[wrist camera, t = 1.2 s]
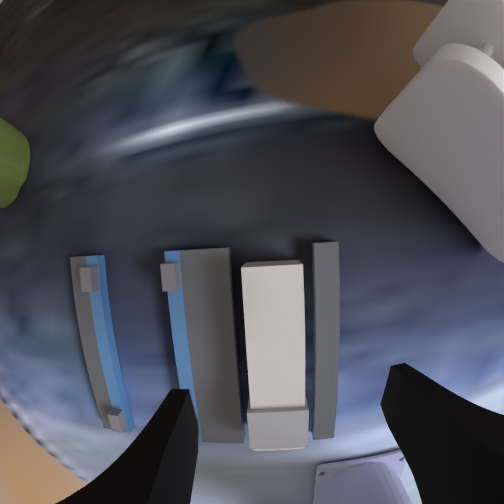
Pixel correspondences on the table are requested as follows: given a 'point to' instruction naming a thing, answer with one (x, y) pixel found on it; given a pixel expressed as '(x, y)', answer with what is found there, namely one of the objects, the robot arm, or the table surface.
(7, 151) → the plant pot
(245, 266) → the tall beige pillar
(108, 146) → the table surface
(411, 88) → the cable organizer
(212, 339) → the board
